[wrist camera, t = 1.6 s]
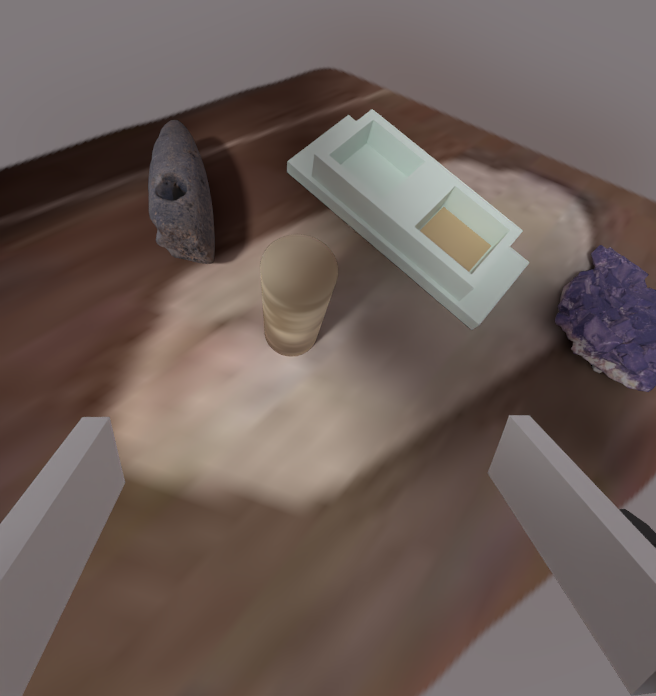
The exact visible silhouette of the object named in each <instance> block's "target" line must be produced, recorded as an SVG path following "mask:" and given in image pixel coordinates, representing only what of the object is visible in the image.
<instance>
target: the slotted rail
mask: <svg viewBox="0 0 656 696" xmlns="http://www.w3.org/2000/svg"><path fill="white" fill-rule="evenodd" d="M287 173H289V174H290V175H291V176H292V177H293V178H295V179H296V180H297V181H298V182H299V183H300V184H302V185H303V186H304V187H305V188H306V189H307V190H309V191H310V192H311V193H312V194H313V195H314V196H316V197H317V198H318V199H319V200H320V201H321V202H323V203H324V204H325V205H326V206H327V207H328V208H330V209H331V210H332V211H333V212H334V213H335V214H337V215H338V216H339V217H340V218H341V219H342V220H344V221H345V222H346V223H347V224H348V225H349V226H351V227H352V228H353V229H354V230H355V231H356V232H358V233H359V234H360V235H361V236H362V237H363V238H365V239H366V240H367V241H368V242H369V243H371V244H372V245H373V246H374V247H375V248H376V249H378V250H379V251H380V252H381V253H382V254H383V255H385V256H386V257H387V258H388V259H389V260H390V261H392V262H393V263H394V264H395V265H396V266H397V267H399V268H400V269H401V270H402V271H403V272H404V273H406V274H407V275H408V276H409V277H410V278H411V279H413V280H414V281H415V282H416V283H417V284H418V285H420V286H421V287H422V288H423V289H424V290H425V291H427V292H428V293H429V294H430V295H431V296H432V297H434V298H435V299H436V300H437V301H438V302H440V303H441V304H442V305H443V306H444V307H445V308H447V309H448V310H449V311H450V312H451V313H452V314H454V315H455V316H456V317H457V318H458V319H459V320H461V321H462V322H463V323H464V324H465V325H466V326H468V327H469V328H470V329H471V330H473V329H474V328H476V327H477V326H479V325H480V324H481V322H482V321H483V320H484V319H485V318H486V316H487V315H488V314H489V313H490V311H491V310H492V309H493V308H494V306H495V305H496V304H497V303H498V301H499V300H500V299H501V298H502V296H503V295H504V294H505V293H506V291H507V290H508V289H509V288H510V286H511V285H512V284H513V283H514V281H515V280H516V279H517V278H518V276H519V275H520V274H521V273H522V271H523V270H524V269H525V268H526V266H527V265H528V264H529V262H528V261H527V260H526V259H525V258H523V257H522V256H521V255H520V254H518V253H517V252H516V251H515V250H513V249H512V248H511V247H510V246H511V244H512V243H513V242H514V241H515V240H516V238H517V237H518V236H519V235H520V234H521V233H522V231H523V230H521V229H520V228H519V227H518V226H516V225H515V224H514V223H513V222H512V221H510V220H509V219H508V218H507V217H505V216H504V215H503V214H502V213H500V212H499V211H498V210H497V209H495V208H494V207H493V206H492V205H490V204H489V203H488V202H487V201H485V200H484V199H483V198H482V197H481V196H479V195H478V194H477V193H476V192H474V191H473V190H472V189H471V188H469V187H468V186H467V185H466V184H464V183H463V182H462V181H461V180H459V179H458V178H457V177H456V176H455V175H453V174H452V173H451V172H450V171H448V170H447V169H446V168H445V167H443V166H442V165H441V164H440V163H438V162H437V161H436V160H435V159H433V158H432V157H431V156H430V155H429V154H427V153H426V152H425V151H424V150H422V149H421V148H420V147H419V146H417V145H416V144H415V143H414V142H412V141H411V140H410V139H409V138H407V137H406V136H405V135H404V134H403V133H401V132H400V131H399V130H398V129H396V128H395V127H394V126H393V125H391V124H390V123H389V122H388V121H386V120H385V119H384V118H383V117H381V116H380V115H379V114H378V113H376V112H375V111H374V110H373V109H372V110H370V111H369V112H368V113H366V114H365V115H364V116H363V117H361V118H360V119H359V120H357V121H355V120H354V119H353V118H352V117H351V116H349V115H348V116H346V117H345V118H344V119H342V120H341V121H340V122H338V123H337V124H336V125H334V126H333V127H332V128H331V129H329V130H328V131H327V132H325V133H324V134H323V135H321V136H320V137H319V138H317V139H316V140H315V141H313V142H312V143H311V144H309V145H308V146H307V147H306V148H304V149H303V150H302V151H300V152H299V153H298V154H296V155H295V156H294V157H292V158H291V159H290V160H288V161H287Z"/></svg>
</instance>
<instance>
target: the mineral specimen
mask: <svg viewBox="0 0 656 696" xmlns="http://www.w3.org/2000/svg"><path fill="white" fill-rule="evenodd" d="M591 255H592V259H593V264H594V266H595V268H594V270H595V271H594V270H593V269H592V270H588V271H582V272H580V273H579V275H578V276H577V277H574V278H573V279H572V281H570V282H569V283H568V284H567V285H565V286H564V287H563V290H562V294H561V297H560V299H561V301H560V304H559V305H558V309H559V313H558V314H557V315H556V318H555V324H557V325H558V326H560V327H562V330H563V331H565V332H566V333H567V337H568V339H569V340H571V341H573V346H572V348H571V350H573V353H574V354H577V355H581V356H582V357H583V358H584V359H586V360H587V361H588V362H589V363H590V364H592V368H593V370H594V371H596V372H598V373H601V372H604V373H605V374H606V375H607V376H608V377H609V378H611V379H613V380H615V381H617V382H620V383H622V384H624V385H625V386H626V387H628V388H631V389H636V390H639V391H646V392H649V391H651V390H652V389H653V388H654V387H655V386H656V290H654V289H652V288H646V287H647V285H646V283H645V280H644V279H645V278H646V277H647V276H648V274H647V273H646V272H645V271H643V270H642V269H641V268H640V267H638V266H637V265H635V264H633V263H632V262H630V261H629V260H628V259H626V258H625V257H624V256H621V255H620V254H618V253H617V252H616V251H614V250H613V249H612V248H611V247H610V248H608V249H606V248H605V247H603V246H602V245H600V246H598V247H597V248H596V249H595V250H594V251H593V252H592V253H591Z"/></svg>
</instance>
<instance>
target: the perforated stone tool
mask: <svg viewBox="0 0 656 696" xmlns="http://www.w3.org/2000/svg"><path fill="white" fill-rule="evenodd" d="M148 191H149V214H150V218H151V220H152V222H153V223H154V224H155V226H156V227H157V229H158V231H157V236H156V242H157V244H158V245H159V246H161V247H164V248H166V249H168V251H169V252H170V253H171V255H172V256H174V257H177V258H181V259H186V260H190V261H194V262H198V263H206V264H207V263H208V264H211V263H213V261H214V253H215V235H214V219H213V209H212V200H211V195H210V189H209V184H208V179H207V175H206V171H205V168H204V165H203V162H202V159H201V156H200V153H199V151H198V149H197V146H196V144H195V142H194V140H193V138H192V136H191V134H190V132H189V131H188V130H187V128H186V127H185V126H184V125H183V124H182V123H181V122H179V121H178V120H171V121H169V122H168V123H166V124H165V125H164V127H163V128H162V129H161V132H160V134H159V138H158V139H157V141H156V142H155V145H154V148H153V152H152V161H151V164H150V170H149V182H148Z"/></svg>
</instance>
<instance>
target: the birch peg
mask: <svg viewBox="0 0 656 696" xmlns="http://www.w3.org/2000/svg"><path fill="white" fill-rule="evenodd" d="M260 273H261V287H262V302H263V316H264V331H265V338H266V341H267V342H268V344H269V346H270V347H271V348H272V349H273V350H274V351H276V352H277V353H279V354H281V355H284V356H299V355H302V354H304V353H306V352H307V351H309V350H310V349H311V348H312V346H313V345H314V343H315V341H316V339H317V336H318V333H319V330H320V327H321V324H322V322H323V319H324V316H325V313H326V310H327V307H328V304H329V302H330V299H331V296H332V293H333V290H334V287H335V284H336V281H337V278H338V264H337V261H336V258H335V256H334V254H333V253H332V251H331V250H330V249H329V248H328V247H327V246H326V245H325V244H324V243H323V242H321V241H319V240H318V239H316V238H313V237H310V236H307V235H300V234H293V235H287V236H284V237H281V238H279V239H277V240H275V241H274V242H273V243H271V244H270V245H269V246H268V247H267V249H266V250H265V252H264V253H263V256H262V258H261V263H260Z"/></svg>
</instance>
